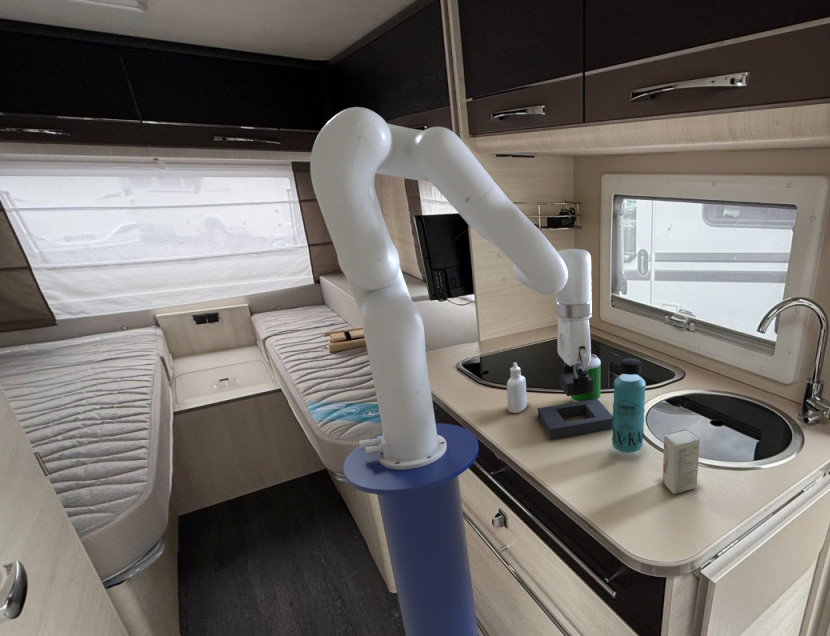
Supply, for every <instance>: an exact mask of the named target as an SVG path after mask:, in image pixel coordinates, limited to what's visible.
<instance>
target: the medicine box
mask: <svg viewBox="0 0 830 636" xmlns="http://www.w3.org/2000/svg"><path fill="white" fill-rule="evenodd" d="M700 443H701V439H700V437H697V435H695V434H694V433H693V432H692V431H690V430H689V429H687V428H686V429H682V430H681V429H680V430H677V431H673V432H669V433H666V434H663V460H662V461H663V462H662V463H663V464H662V466H663V467H662V483H663V484H664V485H665V486H666V487H667V489H668V490H669V491H670V492H671V493H672V494H673V495H675V494H676V495H677V494H679V493H683V492H686V491H690V490H693V489H696V488H697V487H698V476H699V475H698V474H699V473H698V472H699V461H700Z"/></svg>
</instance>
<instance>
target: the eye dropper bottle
mask: <svg viewBox="0 0 830 636" xmlns="http://www.w3.org/2000/svg"><path fill="white" fill-rule="evenodd" d="M512 364H513V365H512V367H510V368H509V371H510V372H509V373H510V377H509V379H508V380H507V382H506V396H507V407H508V408H507V410H508V412H509V413H513V414H517V413H518V414H519V413H521V412H523V411H524V410H525V409H526V408H527V406H528V397H527V395H528V394H527V383H526V381H527V380H526V377H525V376H524V375H522V370H521V367H520V366H518V363H517V362H513V363H512Z"/></svg>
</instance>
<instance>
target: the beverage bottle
mask: <svg viewBox="0 0 830 636" xmlns="http://www.w3.org/2000/svg"><path fill="white" fill-rule="evenodd" d="M619 372H620V375H618V376H617V377H616V378H615V379H614V381H613V402H612V405H611V407H612V411H611V412H612V413H611V414H612V416H613V419H612V420H613V423H612V426H613V428H612V433H611V444H612V447H613V449H614V450H616V451H618V452H620V453H624V454H625V453H627V454H630V453H631V454H632V453H635V452H638V451H640V450H641V449H642V447H643V443H644V438H645V436H644V432H645V411H646V409H645V404H646V403H645V402H646V386H647V382H646V380H645V379H644V378H643V377H642V376H640V375H639V374H640V373H641V372H642V363H641V360H639V359H638V358H637V359H636V358H633V357H632V358H623V359H621V360H620V362H619Z"/></svg>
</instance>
